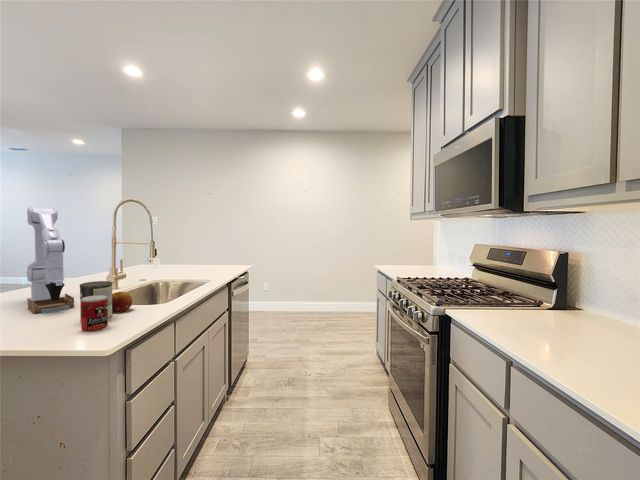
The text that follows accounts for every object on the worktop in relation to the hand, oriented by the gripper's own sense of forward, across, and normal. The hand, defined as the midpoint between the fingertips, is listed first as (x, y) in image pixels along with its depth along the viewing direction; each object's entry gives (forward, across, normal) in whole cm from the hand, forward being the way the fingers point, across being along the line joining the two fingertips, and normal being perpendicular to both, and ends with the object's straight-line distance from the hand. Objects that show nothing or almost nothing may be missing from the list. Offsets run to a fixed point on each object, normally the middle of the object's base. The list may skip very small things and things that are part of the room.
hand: (55, 300), depth 130 cm
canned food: (+5, +36, +3) cm, 37 cm away
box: (+4, -6, 0) cm, 8 cm away
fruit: (+5, +20, +17) cm, 26 cm away
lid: (+5, +6, 0) cm, 8 cm away
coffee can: (+5, +26, +7) cm, 27 cm away
